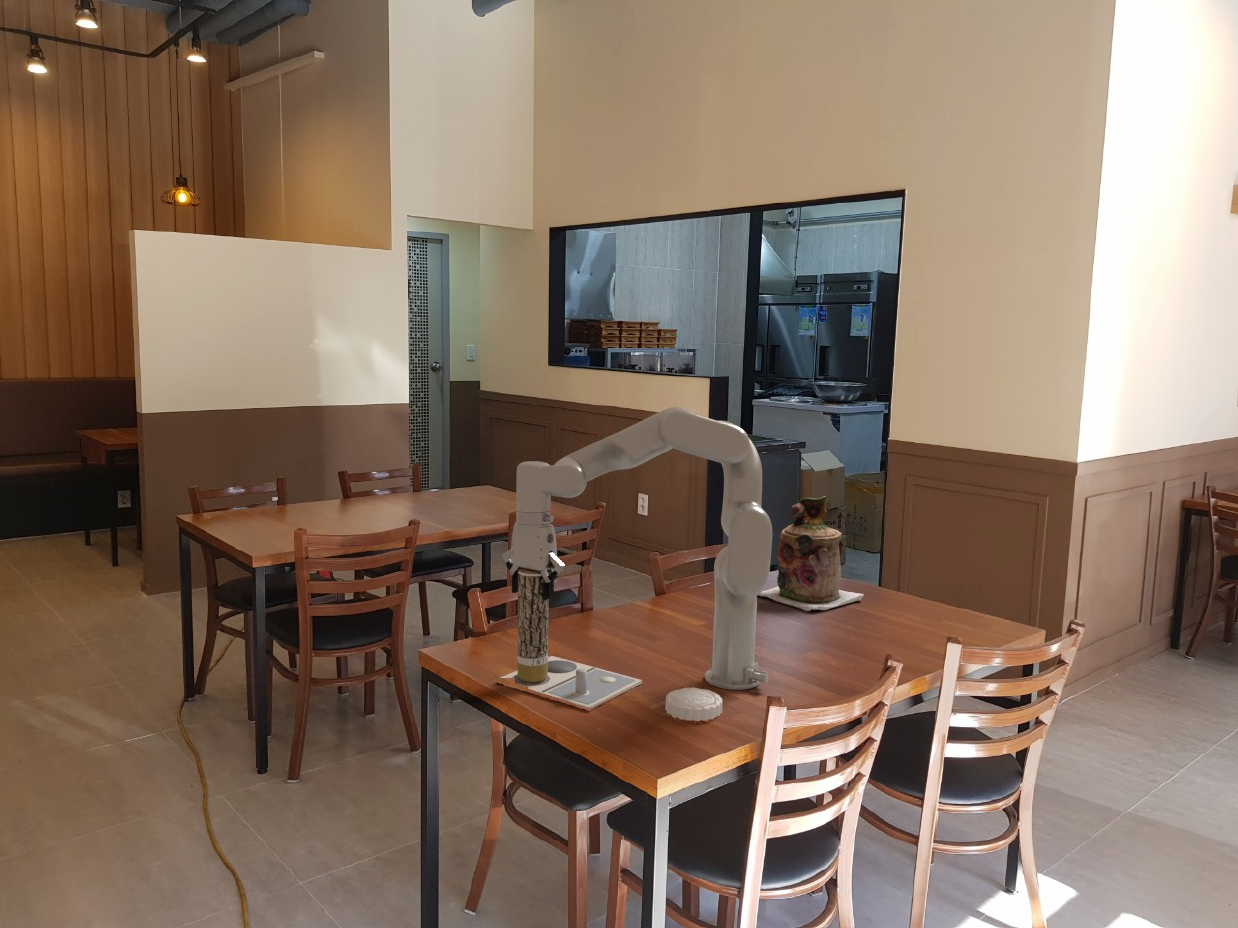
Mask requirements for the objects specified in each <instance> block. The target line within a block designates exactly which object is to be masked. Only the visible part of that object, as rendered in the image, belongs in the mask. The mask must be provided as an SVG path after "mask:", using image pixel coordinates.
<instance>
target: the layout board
mask: <svg viewBox="0 0 1238 928" xmlns="http://www.w3.org/2000/svg"><path fill="white" fill-rule="evenodd" d="M505 675H506V676H505ZM505 675H503V676H501V677H499V678H515V683H517V684H521V685H522V686H525V685H526V686H527V687H528V689H530V690H533V691H536V692H539V693H542V694H545V695H549V696H552V697H555V698H559V699H561V700H564V701H568V702H571V703H573V704H576V705H579V706H583V707H585V708H593V707H595V706H597V705H599V704H601V703H603V702H605V701H607V700H609V699H611V698H613V697H615V696H617V695H619V694H621V693H623V692H625V691H627V690H629V689H631V688H634V687H636V686H638V685H640V684H642V685H643V680H642V679H639V678H635V677H632V676H628V675H625V674H620V673H617V672H614V671H609V670H605V669H602V668H599V667H596V666H595V667H594V666H592V665H587V664H584V663H580V662H576V661H573V660H569V659H565V658H562V657H558V656H553V655H551V656H548V676H547V678H546V679H545V680H544V681H541V682H537V683H528V682H523V681H521V680H520V679H519V678H518V669H516V670H515V671H513V672H510V673H508V674H505ZM640 686H641V685H640ZM638 687H639V686H638ZM524 688H525V687H524ZM636 688H637V687H636ZM634 689H635V688H634Z"/></svg>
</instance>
